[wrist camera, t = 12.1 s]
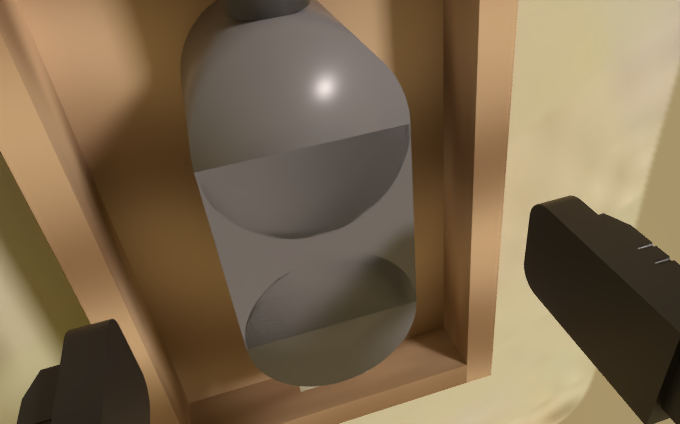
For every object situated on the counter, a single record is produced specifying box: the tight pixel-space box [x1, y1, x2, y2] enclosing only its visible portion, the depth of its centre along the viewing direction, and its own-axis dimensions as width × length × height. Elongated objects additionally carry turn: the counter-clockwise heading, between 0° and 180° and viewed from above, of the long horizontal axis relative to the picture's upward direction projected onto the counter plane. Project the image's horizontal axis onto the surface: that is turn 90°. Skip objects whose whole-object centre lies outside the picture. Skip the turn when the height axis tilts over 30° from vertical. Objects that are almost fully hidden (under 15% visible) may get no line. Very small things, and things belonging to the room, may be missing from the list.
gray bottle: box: [180, 0, 417, 392], centre depth 14 cm, size 14×4×4 cm, turn 7°
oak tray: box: [0, 0, 518, 424], centre depth 15 cm, size 20×12×3 cm, turn 7°
